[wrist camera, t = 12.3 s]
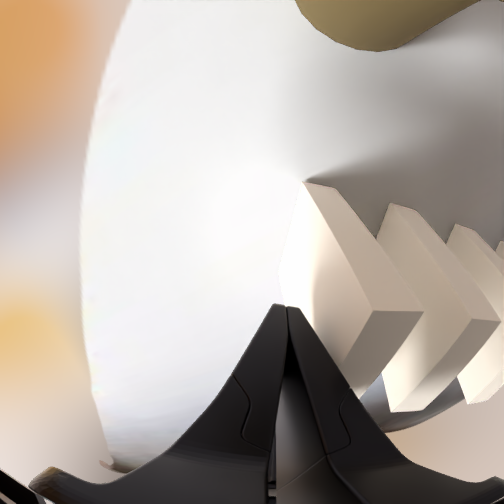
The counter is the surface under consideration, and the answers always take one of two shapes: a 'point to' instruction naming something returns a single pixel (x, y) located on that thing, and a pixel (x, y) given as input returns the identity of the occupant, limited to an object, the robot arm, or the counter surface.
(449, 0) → the cork
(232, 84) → the counter surface
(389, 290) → the domino
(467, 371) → the domino
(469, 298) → the domino
